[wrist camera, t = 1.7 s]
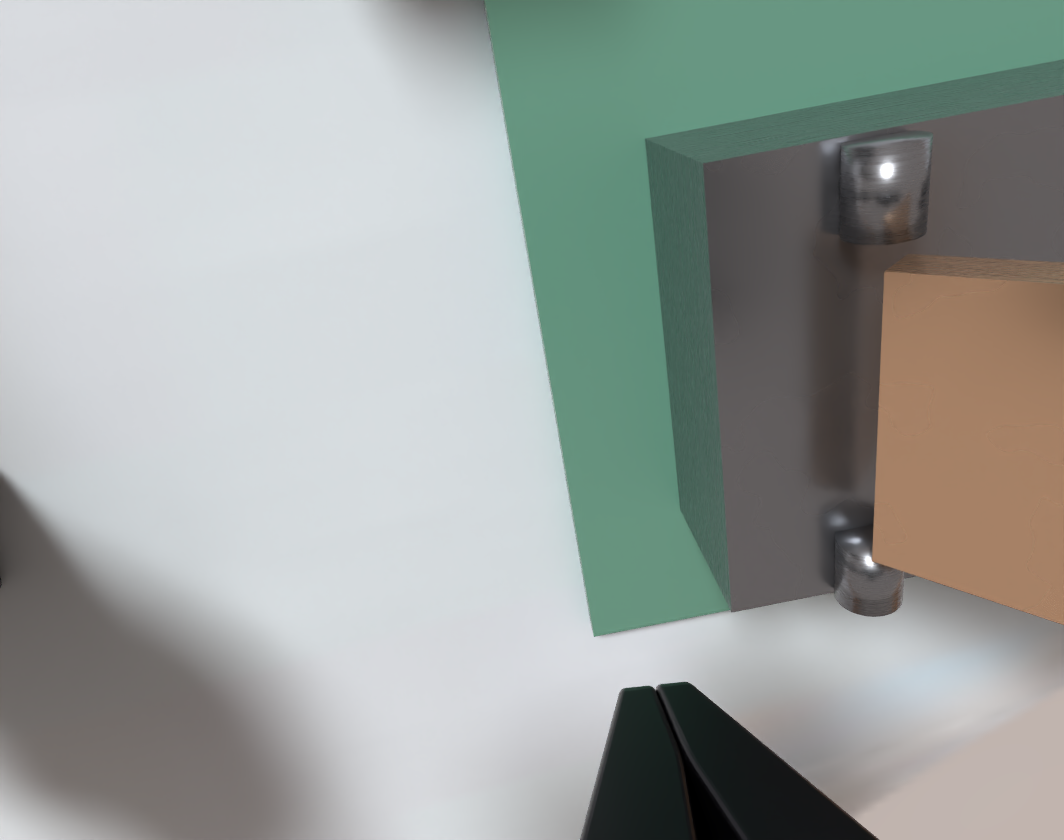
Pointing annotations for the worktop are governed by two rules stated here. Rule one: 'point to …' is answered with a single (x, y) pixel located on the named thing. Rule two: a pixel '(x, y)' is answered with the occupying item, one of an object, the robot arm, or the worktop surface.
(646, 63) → the board
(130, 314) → the worktop surface
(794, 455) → the grey open box
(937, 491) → the brown rectangular board
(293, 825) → the worktop surface
